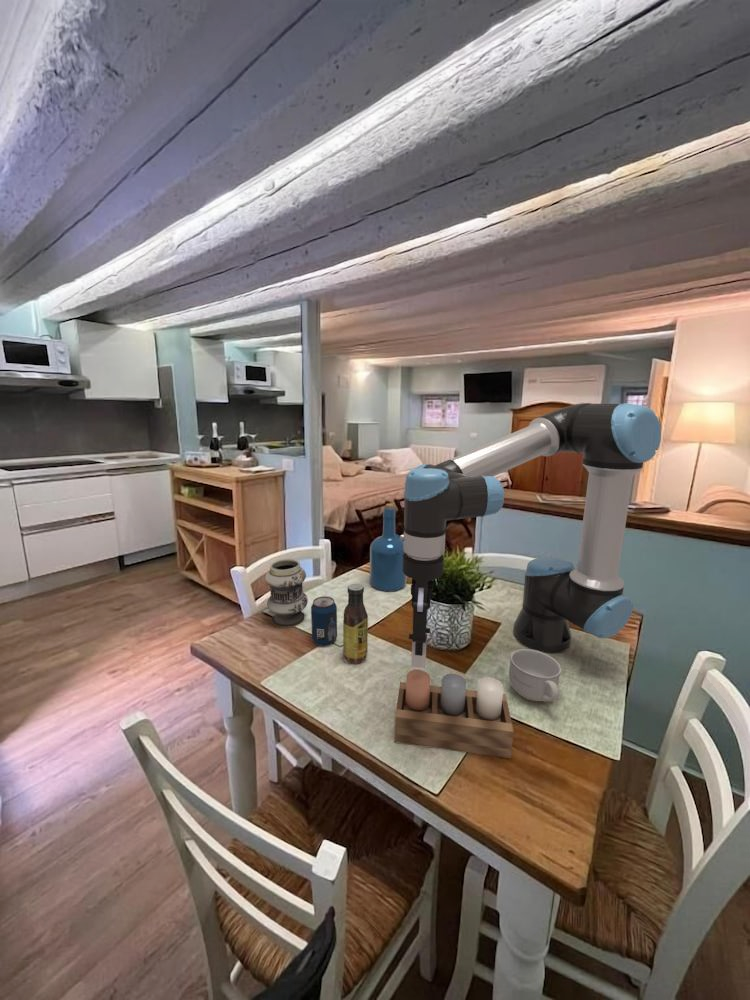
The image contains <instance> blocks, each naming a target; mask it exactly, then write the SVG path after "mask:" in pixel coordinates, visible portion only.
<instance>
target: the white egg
mask: <svg viewBox="0 0 750 1000" xmlns="http://www.w3.org/2000/svg"><path fill="white" fill-rule="evenodd" d="M476 688H477V690H476V691H477V700H476V712H477V714H478V715H479V716H480V717H481V718H483V719H485V720H489V721H494V720H497V719H499V718H500V716H501V708H502V698H503V694H504V685H503V683H502V682H501V681H499V680H498V679H496V678H493V677H489V676H487V677H486V676H484V677H482V678H480V679H478V681H477V687H476Z"/></svg>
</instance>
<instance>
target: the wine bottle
mask: <svg viewBox="0 0 750 1000" xmlns="http://www.w3.org/2000/svg"><path fill="white" fill-rule="evenodd" d="M396 517H397V516H396V508H395V507H394V504H393V503H386V504H385V507H384V508H383V514H382V518H383V522H382V524H383V525H382V535H381V536H378V537H376V538H375V539H374V540H373V541H372V542H371V543H370V546H369V581H370V585H371V586H372V587H373V588H374V589H376V590H378V591H383V592H384V591H385V592H393V591H394V592H395V591H398V590H402V589H404V587H405V585H406V583H407V581H408V580H407V578H408V577H407V576H406V575H405V574H404V573H403V570H402V566H403V554H404V553H405V552H404V550H403V543H404V540H401V539H400V536H401V535H399V534H397V533H396Z"/></svg>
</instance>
